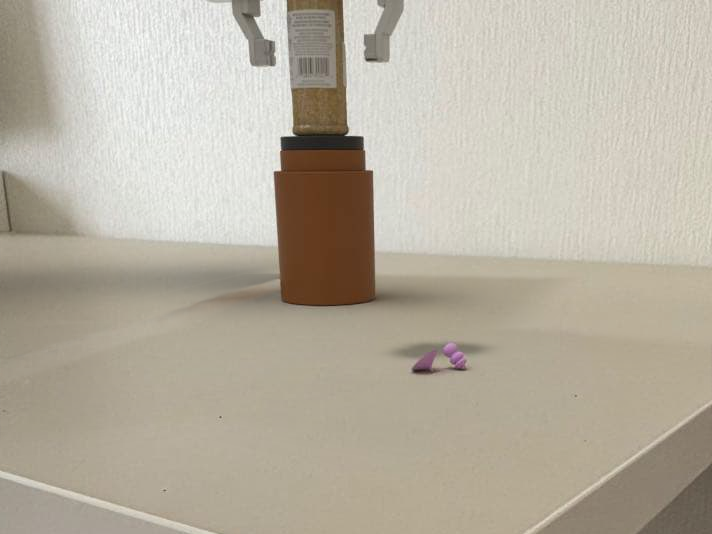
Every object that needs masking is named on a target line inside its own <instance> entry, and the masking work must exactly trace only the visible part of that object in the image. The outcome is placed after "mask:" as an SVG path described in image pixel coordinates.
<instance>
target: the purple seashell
mask: <svg viewBox="0 0 712 534" xmlns="http://www.w3.org/2000/svg"><path fill="white" fill-rule="evenodd" d="M437 353H438V349H433V350H432V351H430V352H428V353H427V354H425V355H424V356H423V357H421V358H420V359H419V360H418V361H416V363H415V364H414V365H412V367H411V369H410V370H411V371H419V370H429V371H430V372H431V373H433V372H434V371H435V370H434V368H433V363H434V361H435V358H436V356H437ZM443 355H444V356H445V357H446V358H449V363H450V364H451V365H454V369H457V370H459V369H461V370H464V369H466V367H467V366H466V363H467V360H468V359H467V358H466V357H465V355H464V353H463V352H462V351H459V347H458V345H457V344H456V343H455V342H449V343H447V344H446V345H445V346H444V347H443Z"/></svg>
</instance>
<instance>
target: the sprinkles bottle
mask: <svg viewBox="0 0 712 534" xmlns="http://www.w3.org/2000/svg"><path fill="white" fill-rule="evenodd" d="M344 21H345V20H344V0H286V31H287V47H288V50H287V51H288V63H289V64H288V66H289V67H288V68H289V83H290V84H289V85H290V92H291V104H292V105H291V107H292V127H291V132H292V135H293V136H348V134H349V132H350V127H349V126H348V125H349V124H348V109H347V108H348V107H347V103H348V102H347V86H348V81H347V52H346V44H345V22H344Z"/></svg>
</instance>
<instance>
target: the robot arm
mask: <svg viewBox="0 0 712 534" xmlns="http://www.w3.org/2000/svg"><path fill="white" fill-rule="evenodd" d="M204 1H206V2H209V3H212V4H226V3H228V4H229V3H231V11H232V16H233V18H234V20H235V21H236V23H237V25H238V27H239V29H240V30H241V32H242V33H243V35H244V37H245V39H246V40H247V42H248V56H249V57H248V58H249V63H250V65H251V67H255V68H268V67H269V68H271V67H275V66H276V64H277V57H276V55H275V54H276V41H274V40H270V39H267V38H265V37H264V35H263V33H262V31H261V29H260V27H259V25H258V22H257V21H256V19H255V18H260V17H261V16H262V13H261V1H263V0H204ZM376 4H377V6H379V7H380V8H382V9H383V11H382V13H381V16H380V18H379V20H378V23H377V24H376V27H375V30H374V32H373V33H367V34H366V33H365V34H363V46H364V47H365V49H364V50H363V56H364V60H365V62H366V63H370V64H382V63H383V64H387V63H389V62H390V58H391V55H390V53H391V51H390V50H391V47H390V44H391V43H390V37H391V36H393V33H394V31H395V29H396V27H397V25H398V22H399V21H400V18H401V16H402V15H403V12H404V10H405V0H377V2H376Z"/></svg>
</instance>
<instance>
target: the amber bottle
mask: <svg viewBox="0 0 712 534" xmlns="http://www.w3.org/2000/svg"><path fill="white" fill-rule="evenodd" d="M279 161H280V170H274V171H273V185H274V186H273V187H274V201H275V219H276V220H275V221H276V235H277V251H278V269H279V283H280V285H279V287H280V298H281V301H283V302H284V303H289V304H293V305H301V306H345V305H355V304H363V303H367V302H370V301H373V300H375V299H376V253H375V252H376V247H375V197H374V195H375V193H374V170H371V169H367V168H366V166H367V165H366V164H367V163H366V161H367V160H366V150H365V138H364V136H362V135H345V136H295V135H291V136H290V135H286V136H280V150H279Z"/></svg>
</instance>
